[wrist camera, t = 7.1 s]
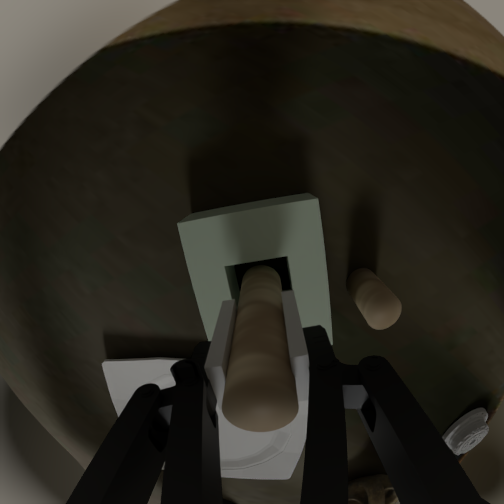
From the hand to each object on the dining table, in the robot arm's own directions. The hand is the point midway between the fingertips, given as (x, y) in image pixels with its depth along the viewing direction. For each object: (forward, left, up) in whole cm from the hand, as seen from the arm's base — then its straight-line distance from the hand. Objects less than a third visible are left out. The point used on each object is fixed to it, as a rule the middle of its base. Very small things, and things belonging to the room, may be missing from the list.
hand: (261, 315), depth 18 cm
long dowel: (0, 0, -5) cm, 5 cm away
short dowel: (+9, -3, -8) cm, 13 cm away
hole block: (0, 0, -8) cm, 8 cm away
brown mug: (+11, -43, -9) cm, 45 cm away
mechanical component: (+31, -37, -9) cm, 49 cm away
